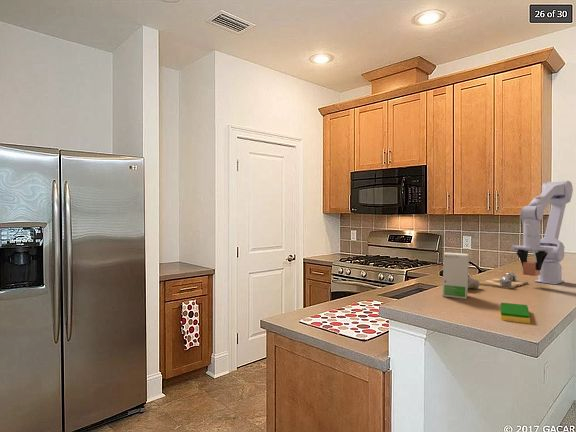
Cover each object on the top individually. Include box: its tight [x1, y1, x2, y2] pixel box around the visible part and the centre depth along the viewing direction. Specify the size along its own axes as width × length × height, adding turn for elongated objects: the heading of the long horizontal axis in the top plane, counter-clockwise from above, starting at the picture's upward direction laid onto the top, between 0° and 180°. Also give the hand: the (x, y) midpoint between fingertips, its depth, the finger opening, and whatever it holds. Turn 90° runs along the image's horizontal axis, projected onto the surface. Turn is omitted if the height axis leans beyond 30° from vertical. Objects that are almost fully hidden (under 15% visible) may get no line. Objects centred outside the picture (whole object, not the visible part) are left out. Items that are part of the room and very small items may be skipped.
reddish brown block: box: [522, 260, 540, 277], centre depth 153 cm, size 4×4×5 cm
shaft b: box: [500, 275, 511, 286], centre depth 152 cm, size 4×3×3 cm
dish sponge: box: [500, 302, 531, 324], centre depth 113 cm, size 7×14×2 cm, turn 151°
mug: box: [468, 274, 480, 290], centre depth 150 cm, size 8×10×10 cm
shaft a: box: [503, 271, 517, 281], centre depth 162 cm, size 5×3×3 cm
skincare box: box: [442, 251, 470, 300], centre depth 138 cm, size 8×7×16 cm
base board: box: [479, 277, 529, 290], centre depth 159 cm, size 17×12×1 cm
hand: (531, 269), depth 153 cm, fingers closed on reddish brown block, 4 cm apart
